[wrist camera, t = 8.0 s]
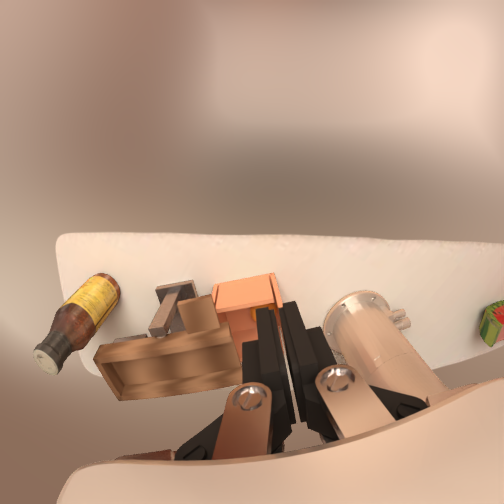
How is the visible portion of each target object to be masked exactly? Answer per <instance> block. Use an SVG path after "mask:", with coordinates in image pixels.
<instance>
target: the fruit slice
mask: <svg viewBox="0 0 504 504" xmlns="http://www.w3.org/2000/svg"><path fill="white" fill-rule="evenodd" d="M479 329H480V335H481V337H482V339H483V340H484V342H485V343H486V344H487V345H488V346H490V347H492V346H493V344H495V343H497V342H498V341H501V340H504V300H503V301H498V302H496V303H493V304H492V305H490V306H488V307H486V310H485V313H484V316H483V318H482V321H481V324H480V326H479Z"/></svg>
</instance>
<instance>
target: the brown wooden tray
mask: <svg viewBox="0 0 504 504" xmlns="http://www.w3.org/2000/svg"><path fill="white" fill-rule="evenodd" d="M177 306H178V309H179V312H180V315H181V318H182V320H183V323H184V326H185V328H186V331H181V332H175V333H170V334H167V335H164V336H155V337H147V335H146V334H143V335H137V336H131V337H125V338H119V339H115V341H114V343H111V344H104V345H100V346H99V348H98V350H97V352H96V354H95V356H94V358H93V360H94V362H95V364H96V366H97V367H98V369H99V371H100V372H101V374H102V376H103V377H104V379H105V380H106V382H107V384H108V385H109V387H110V388H111V390H112V391H113V393H114V394H115V396H116V397H117V399H118V400H119V401H124V400H138V399H148V398H158V397H167V396H175V395H182V394H189V393H195V392H202V391H208V390H213V389H219V388H224V387H229V386H234V385H239V384H242V366H241V363H240V359H239V356H238V353H237V349H236V346H235V343H234V340H233V336H232V333H231V329H230V326H229V323H228V322H223V323H220V321H219V318H218V315H217V311H216V308H215V305H214V301H213V298H212V295H211V294H210V295H205V296H201V297H196V298H192V299H187V300H183V301H178V304H177Z"/></svg>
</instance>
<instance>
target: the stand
mask: <svg viewBox="0 0 504 504" xmlns="http://www.w3.org/2000/svg"><path fill="white" fill-rule="evenodd" d="M155 290H156V293H157V296H158V299H159V301H160V304H161V305H160V307H159V309H158V311H157V313H156V315H155V317H154V319H153V321H152V323H151V325H150V327H149V331H150V334H151V336H152V337H155V336H164V335H167V333H168V330H169V328H170V330H171V333H175V332H181V331H186V328H185V326H184V323H183V320H182V318H181V315H180V312H179V309H178V306H177V304H178V301H183V300H187V299H192V298H196V297H198V295H197V292H196V288H195V285H194V282H193V280H189V281H184V282H179V283H173V284H168V285H163V286H157V288H156V289H155Z"/></svg>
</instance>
